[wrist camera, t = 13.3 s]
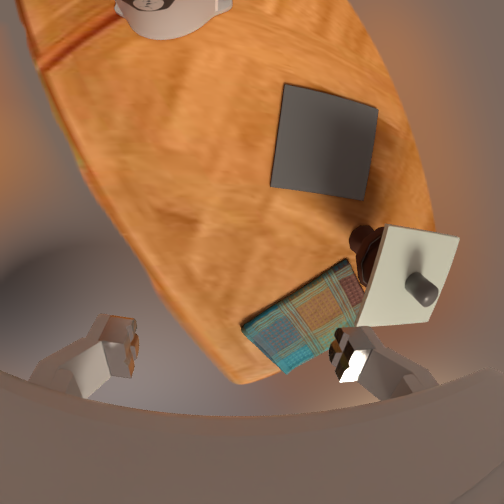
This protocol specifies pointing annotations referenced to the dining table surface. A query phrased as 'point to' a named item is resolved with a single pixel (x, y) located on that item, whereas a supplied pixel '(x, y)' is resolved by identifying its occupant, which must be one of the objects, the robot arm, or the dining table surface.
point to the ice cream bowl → (365, 250)
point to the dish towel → (307, 318)
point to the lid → (406, 276)
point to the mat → (323, 144)
